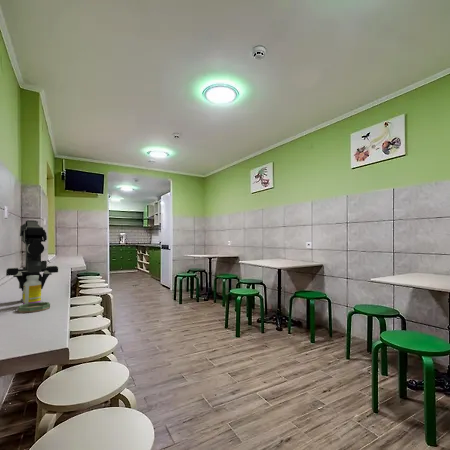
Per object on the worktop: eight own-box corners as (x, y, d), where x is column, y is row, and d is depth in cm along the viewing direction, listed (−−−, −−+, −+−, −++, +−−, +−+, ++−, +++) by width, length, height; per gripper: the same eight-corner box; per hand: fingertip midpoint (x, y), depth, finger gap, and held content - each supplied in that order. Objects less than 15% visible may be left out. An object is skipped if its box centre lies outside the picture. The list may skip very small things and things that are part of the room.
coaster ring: (17, 309, 113) (17, 304, 113) (48, 305, 120) (48, 301, 120) (18, 314, 105) (18, 309, 105) (51, 309, 112) (51, 305, 112)
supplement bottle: (44, 303, 124) (45, 274, 125) (32, 306, 117) (33, 276, 118) (30, 303, 124) (31, 274, 125) (18, 306, 118) (19, 276, 119)
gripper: (7, 256, 110) (5, 295, 109) (60, 254, 122) (59, 289, 121) (6, 255, 119) (5, 291, 118) (56, 254, 131) (55, 286, 130)
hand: (32, 290), depth 121 cm, fingers closed on supplement bottle, 7 cm apart
